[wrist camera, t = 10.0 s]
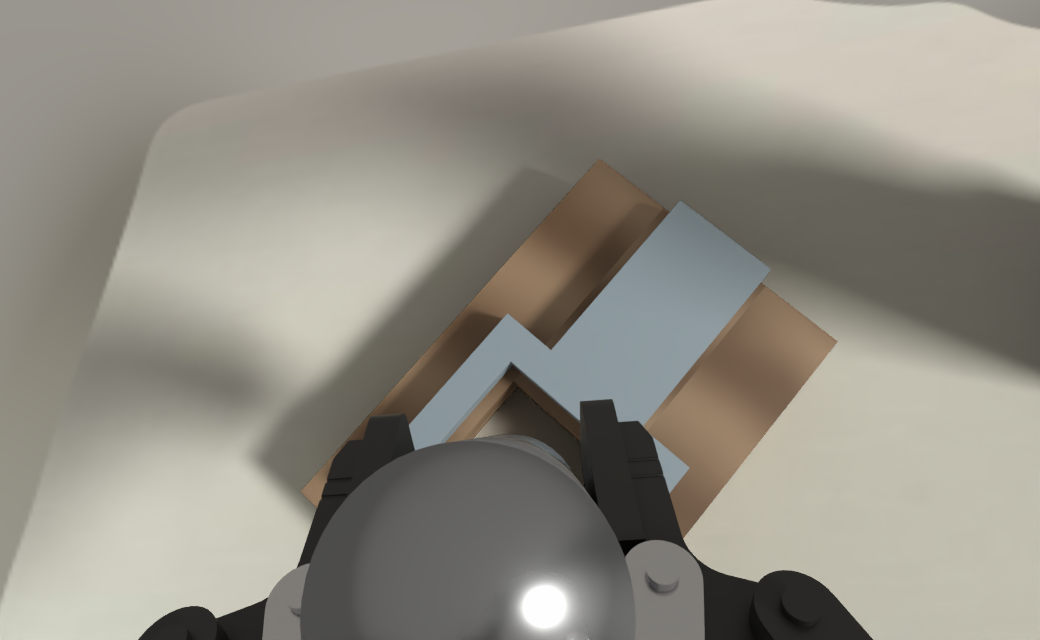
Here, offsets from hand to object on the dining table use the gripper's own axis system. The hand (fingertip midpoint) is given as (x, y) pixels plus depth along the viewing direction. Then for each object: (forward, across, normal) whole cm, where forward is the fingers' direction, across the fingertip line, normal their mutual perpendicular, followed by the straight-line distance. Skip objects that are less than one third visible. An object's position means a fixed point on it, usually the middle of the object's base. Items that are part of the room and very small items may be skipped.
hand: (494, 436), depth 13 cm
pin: (+2, 0, +4) cm, 5 cm away
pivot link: (+10, -3, +8) cm, 13 cm away
